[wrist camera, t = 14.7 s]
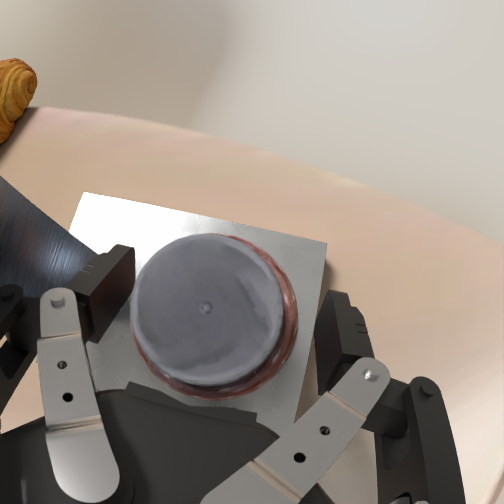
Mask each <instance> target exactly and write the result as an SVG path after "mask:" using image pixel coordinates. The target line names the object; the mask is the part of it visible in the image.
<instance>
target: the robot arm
mask: <svg viewBox="0 0 504 504" xmlns="http://www.w3.org/2000/svg"><path fill="white" fill-rule="evenodd" d="M135 281H136V269H135V248H134V247H131V246H127V245H122V244H116V245H115V246H114V247H113V248H112V249H111V250H110V251H109V252H108V253H106V252H103V253H101V254H99V255H97V256H95V257H93V258H92V259H91V260H90V261H89V262H88V263H87V265H85V266H84V267H83V268H82V271H81V270H80V271H79V272H78V273H77V275H76V276H75V277H74V278H73V279H72V280H71V281H70V282H69V283H68V284H67V285H66V286H65V287H64V288H54V289H51V290H49V291H47V292H46V293H44V294H43V295H42V297H41V298H34V297H25V296H24V292H23V289H22V288H21V287H20V286H19V285H17V284H7V285H4V286H1V287H0V340H1V339H2V337H3V336H4V335H5V336H6V338H7V340H6V341H5V343H4V344H3V345H2V347H1V348H0V416H1V414H2V412H3V410H4V408H5V406H6V405H7V403H8V401H9V399H10V398H11V396H12V394H13V392H14V391H15V389H16V387H17V386H18V384H19V382H20V381H21V379H22V377H23V376H24V374H25V372H26V371H27V369H28V368H29V366H30V364H31V363H32V361H33V360H34V358H35V357H36V355H37V353H38V366H39V377H40V386H41V394H42V402H43V408H44V415H45V416H43V417H41V418H38V419H36V420H34V421H31V422H29V423H27V424H24V425H22V426H20V427H17V428H15V429H12V430H10V431H8V432H5V433H3V434H1V432H0V504H335V503H334V502H333V501H332V500H331V499H330V498H329V496H328V495H327V494H326V493H325V491H324V490H323V489H322V488H321V487H320V485H319V484H318V483H317V481H318V480H319V479H320V478H321V477H322V476H323V474H324V473H325V472H326V471H327V470H328V469H329V467H330V466H331V465H332V464H333V463H334V461H335V460H336V459H337V458H338V456H339V455H340V454H341V453H342V451H343V450H344V449H345V448H346V446H347V445H348V444H349V442H350V441H351V440H352V438H353V437H354V436H355V434H356V433H357V432H358V430H359V429H360V428H363V429H366V430H368V431H371V432H374V438H375V451H376V466H377V486H378V504H466V501H465V495H464V488H463V482H462V477H461V471H460V466H459V461H458V456H457V452H456V447H455V443H454V439H453V435H452V430H451V427H450V423H449V419H448V415H447V412H446V408H445V404H444V401H443V398H442V394H441V391H440V389H439V387H438V386H437V385H436V383H435V382H433V381H432V380H430V379H429V378H426V377H416V378H414V379H413V380H412V381H411V382H410V383H409V384H406V383H404V382H401V381H398V380H395V379H393V378H390V373H389V370H388V369H387V367H386V366H385V365H384V364H383V363H381V362H380V361H378V360H376V359H375V357H374V353H373V350H372V346H371V342H370V338H369V335H368V331H367V327H366V324H365V320H364V317H363V315H362V314H361V313H360V311H359V310H358V309H357V307H352V306H351V305H350V301H349V297H348V294H347V293H344V292H339V291H334V290H329V291H328V292H327V294H326V297H325V299H324V302H323V304H322V307H321V309H320V312H319V314H318V317H317V319H316V322H315V328H314V338H315V351H316V365H317V380H318V395H320V396H321V397H320V398H319V399H318V401H317V402H316V403H315V404H314V405H313V406H312V407H311V408H310V409H309V410H308V411H307V412H306V413H305V414H304V415H303V416H302V417H301V418H300V419H299V420H297V421H296V422H295V423H294V424H293V425H292V426H291V427H290V428H289V429H288V430H287V431H286V432H285V433H284V434H283V435H282V436H281V437H280V436H279V435H278V434H277V433H276V432H274V431H273V430H271V429H270V428H268V427H266V426H264V425H263V424H261V423H258V422H256V419H257V413H256V412H250V411H245V410H239V409H234V408H229V407H207V406H189V405H186V404H184V403H182V402H180V401H178V400H176V399H174V398H173V397H171V396H169V395H167V394H165V393H163V392H161V391H159V390H157V389H153V388H150V387H147V386H143V385H140V384H137V383H134V382H131V381H129V382H128V384H127V386H126V389H108V390H103V391H99V392H97V389H96V385H95V381H94V378H93V374H92V369H91V365H90V361H89V357H88V352H87V348H86V343H87V341H90V342H93V343H95V344H98V343H99V342H100V340H101V338H102V337H103V335H104V334H105V332H106V331H107V329H108V328H109V326H110V325H111V323H112V322H113V320H114V319H115V317H116V315H117V314H118V313H119V311H120V310H121V308H122V307H123V305H124V304H125V302H126V301H127V299H128V298H129V296H130V295H131V293H132V292H133V288H134V285H135ZM0 430H1V419H0Z"/></svg>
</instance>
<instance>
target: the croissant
mask: <svg viewBox="0 0 504 504" xmlns="http://www.w3.org/2000/svg"><path fill="white" fill-rule="evenodd" d="M36 87H37V77H36V74H35V72H34V70H32V68H31V67H30V66H28V65H27V64H26V63H25V62H24V61H22V60H19V59H16V58H14V59H8V60H2V61H0V144H1V143H2V142H4V141H5V140H6V139H8V138H9V135H10V133H11V132H13V131H14V128H15V122H14V121H15V120H17V119H18V118H19V117H21V116H22V115H23V112H24V110H25V108H26V107H27V106H28V105H29V102H30V101H31V99H32V98H33V94H34V92H35V89H36Z"/></svg>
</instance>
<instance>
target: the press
mask: <svg viewBox="0 0 504 504" xmlns="http://www.w3.org/2000/svg"><path fill="white" fill-rule="evenodd" d="M206 233H221V234H227V235H232V236H236V237H239V238H242V239H245V240H247V241H250V242H252V243H253V244H255V245H257V246H258V247H260V248H262V249H263V250H264V251H265V252H267V253H268V254H269V255H270V256H271V257H272V258H273V259H275V260H276V261H277V263H278V264H279V265H280V266H281V267H282V269H283V271H284V272H285V274H286V275H287V277H288V279H289V281H290V283H291V285H292V287H293V291H294V294H295V297H296V301H297V309H298V329H297V334H296V338H295V342H294V345H293V348H292V350H291V353H290V355H289V357H288V359H287V360H286V362H285V363H284V365H283V366H282V368H281V369H280V370H279V371H278V372H277V374H276V375H275V376H274V377H273V378H272V379H271V380H269V381H268V382H267V383H266V384H264V385H263V386H262V387H260V388H259V389H257V390H255V391H253V392H251V393H249V394H246V395H244V396H241V397H237V398H234V399H228V400H220V401H215V400H201V399H197V398H193V397H190V396H187V395H184V394H182V393H179V392H177V391H175V390H174V389H172V388H170V387H168V386H167V385H166V384H164V383H162V382H161V381H160V380H159V379H158V378H157V376H155V375H154V374H153V373H152V372H151V371H150V369H149V368H148V367H147V366H146V364H145V363H144V361H143V360H142V358H141V356H140V354H139V352H138V350H137V348H136V345H135V342H134V339H133V337H132V332H131V326H130V303H131V297H132V293H131V295H130V296H129V298H128V299H127V301H126V302H125V304H124V305H123V307H122V308H121V310H120V311H119V313H118V314H117V315H116V317H115V319H114V320H113V322H112V323H111V325H110V326H109V328H108V329H107V331H106V332H105V334H104V335H103V337H102V338H101V340H100V342H99V343H98V344H95V343H93V342H90V341H87V343H86V348H87V352H88V357H89V361H90V365H91V369H92V374H93V378H94V381H95V385H96V389H98V390H100V391H103V390H108V389H126V386H127V384H128V382H129V381H131V382H134V383H137V384H140V385H143V386H147V387H150V388H153V389H157V390H159V391H161V392H163V393H165V394H167V395H169V396H171V397H173V398H174V399H176V400H178V401H180V402H182V403H184V404H186V405H189V406H207V407H229V408H234V409H239V410H245V411H250V412H256V413H257V419H256V422H258V423H261V424H263V425H264V426H266V427H268V428H270V429H271V430H273V431H274V432H276V433H277V434H278V435H279V436H282V435H283V434H284V433H285V432H286V431H287V430H288V429H289V428H290V427H291V426H292V425H293V424H294V420H295V416H296V411H297V407H298V403H299V398H300V394H301V390H302V385H303V380H304V376H305V371H306V366H307V361H308V356H309V351H310V346H311V341H312V336H313V331H314V325H315V319H316V314H317V308H318V302H319V296H320V290H321V284H322V277H323V271H324V264H325V257H326V250H327V243H323V242H319V241H315V240H310V239H306V238H302V237H297V236H293V235H289V234H284V233H280V232H275V231H271V230H266V229H262V228H257V227H253V226H248V225H244V224H239V223H234V222H230V221H225V220H220V219H216V218H211V217H206V216H201V215H196V214H192V213H187V212H182V211H177V210H172V209H167V208H162V207H157V206H152V205H147V204H142V203H137V202H132V201H126V200H121V199H116V198H111V197H105V196H100V195H95V194H89V193H84V194H83V197H82V199H81V202H80V204H79V207H78V209H77V212H76V214H75V217H74V220H73V222H72V225H71V228H70V231H69V232H68V231H66V230H65V229H64V228H63V227H61V226H60V225H59V224H57V223H56V222H55V221H54V220H52V219H51V218H50V217H49V216H47V215H46V214H45V213H44V212H42V211H41V210H40V209H39V208H38V207H36V206H35V205H34V204H33V203H31V202H30V201H29V200H28V199H27V198H25V197H24V196H23V195H22V194H21V193H20V192H18V191H17V190H16V189H15V188H14V187H13V186H11V185H10V184H9V183H8V182H7V181H6V180H5V179H4V178H2V177H1V176H0V287H1V286H4V285H7V284H17V285H19V286H20V287H21V288H22V289H23V292H24V296H25V297H34V298H41V297H42V295H43V294H44V293H46V292H47V291H49V290H51V289H54V288H64V287H65V286H66V285H67V284H68V283H69V282H70V281H71V280H72V279H73V278H74V277H75V276H76V275H77V273H78V272H79V271H80V270H81V271H82V268H83V267H84V266H85V265H87V263H88V262H89V261H90V260H91V259H92V258H93V257H95V256H97V255H99V254H101V253H103V252H106V253H108V252H109V251H110V250H111V249H112V248H113V247H114V246H115V245H116V244H122V245H127V246H131V247H134V248H135V269H136V279H137V277H138V275H139V273H140V271H141V269H142V268H143V267H144V265H145V264H146V263H147V262H148V260H149V259H150V258H151V257H152V256H153V255H154V254H155V253H156V252H157V251H159V250H160V249H161V248H162V247H164V246H166V245H167V244H169V243H171V242H172V241H175V240H177V239H179V238H183V237H186V236H189V235H195V234H206ZM36 362H37V363H38V353H37V359H36Z"/></svg>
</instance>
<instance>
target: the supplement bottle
mask: <svg viewBox="0 0 504 504" xmlns="http://www.w3.org/2000/svg"><path fill="white" fill-rule="evenodd" d="M130 326H131V332H132V337H133V339H134V342H135V345H136V348H137V350H138V352H139V354H140V356H141V358H142V360H143V361H144V363H145V364H146V366H147V367H148V368H149V369H150V371H151V372H152V373H153V374H154V375H155V376H157V378H158V379H159V380H160V381H161V382H162V383H164V384H166V385H167V386H168V387H170V388H172V389H174V390H175V391H177V392H179V393H182V394H184V395H187V396H190V397H193V398H197V399H201V400H215V401H220V400H228V399H234V398H237V397H241V396H244V395H246V394H249V393H251V392H253V391H255V390H257V389H259V388H260V387H262V386H263V385H264V384H266V383H267V382H268V381H269V380H271V379H272V378H273V377H274V376H275V375H276V374H277V372H278V371H279V370H280V369H281V368H282V366H283V365H284V363H285V362H286V360H287V359H288V357H289V355H290V353H291V350H292V348H293V345H294V342H295V338H296V334H297V329H298V309H297V301H296V297H295V294H294V291H293V287H292V285H291V283H290V281H289V279H288V277H287V275H286V274H285V272H284V271H283V269H282V267H281V266H280V265H279V264H278V263H277V261H276V260H275V259H273V258H272V257H271V256H270V255H269V254H268V253H267V252H265V251H264V250H263V249H262V248H260V247H258V246H257V245H255V244H253V243H252V242H250V241H247V240H245V239H242V238H239V237H236V236H232V235H227V234H221V233H206V234H195V235H189V236H186V237H183V238H179V239H177V240H175V241H172V242H171V243H169V244H167V245H166V246H164V247H162V248H161V249H160V250H159V251H157V252H156V253H155V254H154V255H153V256H152V257H151V258H150V259H149V260H148V262H147V263H146V264H145V265H144V267H143V268H142V269H141V271H140V273H139V275H138V277H137V279H136V281H135V285H134V288H133V292H132V297H131V303H130Z"/></svg>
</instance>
